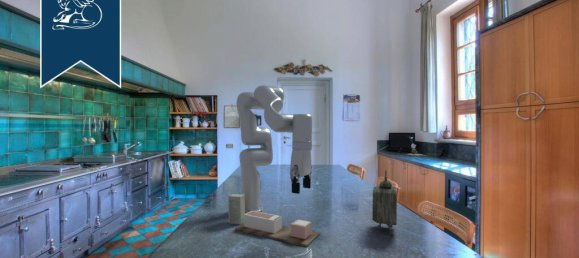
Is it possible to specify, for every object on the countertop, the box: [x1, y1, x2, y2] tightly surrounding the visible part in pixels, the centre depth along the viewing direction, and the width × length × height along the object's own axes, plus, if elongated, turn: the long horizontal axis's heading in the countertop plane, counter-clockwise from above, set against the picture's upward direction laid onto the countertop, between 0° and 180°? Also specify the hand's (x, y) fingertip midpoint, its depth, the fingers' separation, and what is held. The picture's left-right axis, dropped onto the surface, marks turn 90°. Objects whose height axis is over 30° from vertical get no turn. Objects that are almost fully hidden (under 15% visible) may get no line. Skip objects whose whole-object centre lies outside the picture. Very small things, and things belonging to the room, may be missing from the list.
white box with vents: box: [243, 211, 283, 233], centre depth 111 cm, size 15×6×5 cm, turn 62°
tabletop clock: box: [371, 169, 398, 236], centre depth 112 cm, size 14×9×25 cm, turn 160°
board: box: [235, 223, 321, 248], centre depth 108 cm, size 32×12×1 cm, turn 62°
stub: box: [290, 218, 313, 239], centre depth 103 cm, size 6×6×5 cm
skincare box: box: [227, 193, 245, 225], centre depth 119 cm, size 6×4×12 cm
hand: (301, 190), depth 103 cm, fingers open, 9 cm apart
